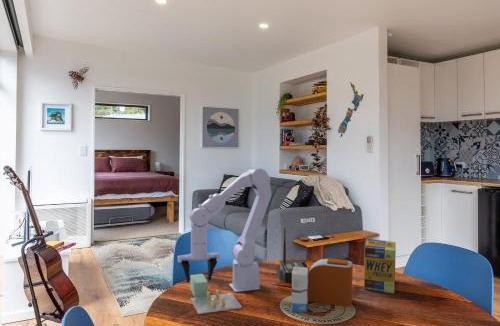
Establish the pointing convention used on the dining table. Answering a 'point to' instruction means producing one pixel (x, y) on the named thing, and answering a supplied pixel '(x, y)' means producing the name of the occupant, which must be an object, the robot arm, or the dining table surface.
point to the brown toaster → (330, 282)
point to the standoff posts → (215, 299)
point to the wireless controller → (288, 266)
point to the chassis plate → (205, 304)
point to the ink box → (299, 289)
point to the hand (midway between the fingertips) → (198, 280)
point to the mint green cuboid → (198, 285)
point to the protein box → (379, 266)
